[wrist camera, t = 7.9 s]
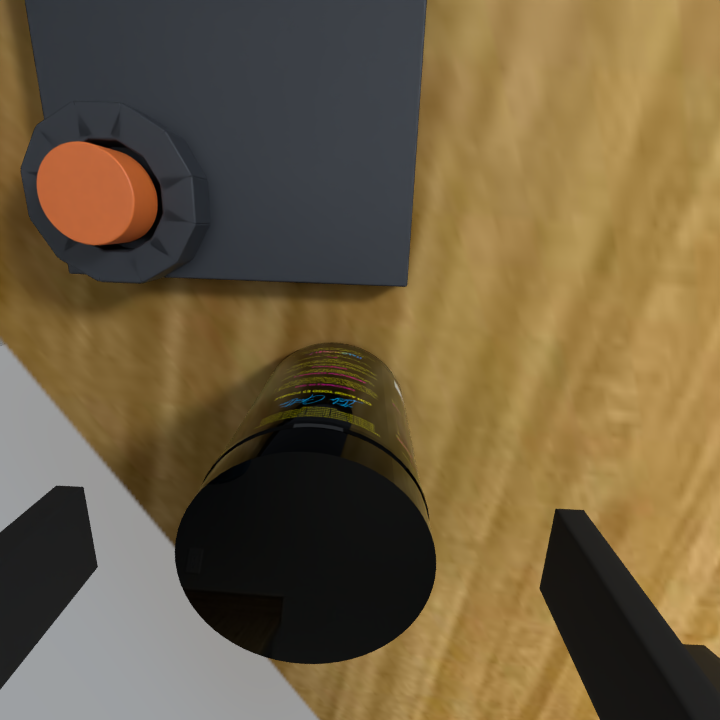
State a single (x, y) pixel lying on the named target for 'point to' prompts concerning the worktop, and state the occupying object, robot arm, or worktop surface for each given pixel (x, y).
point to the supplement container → (313, 516)
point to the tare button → (96, 194)
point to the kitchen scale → (240, 132)
